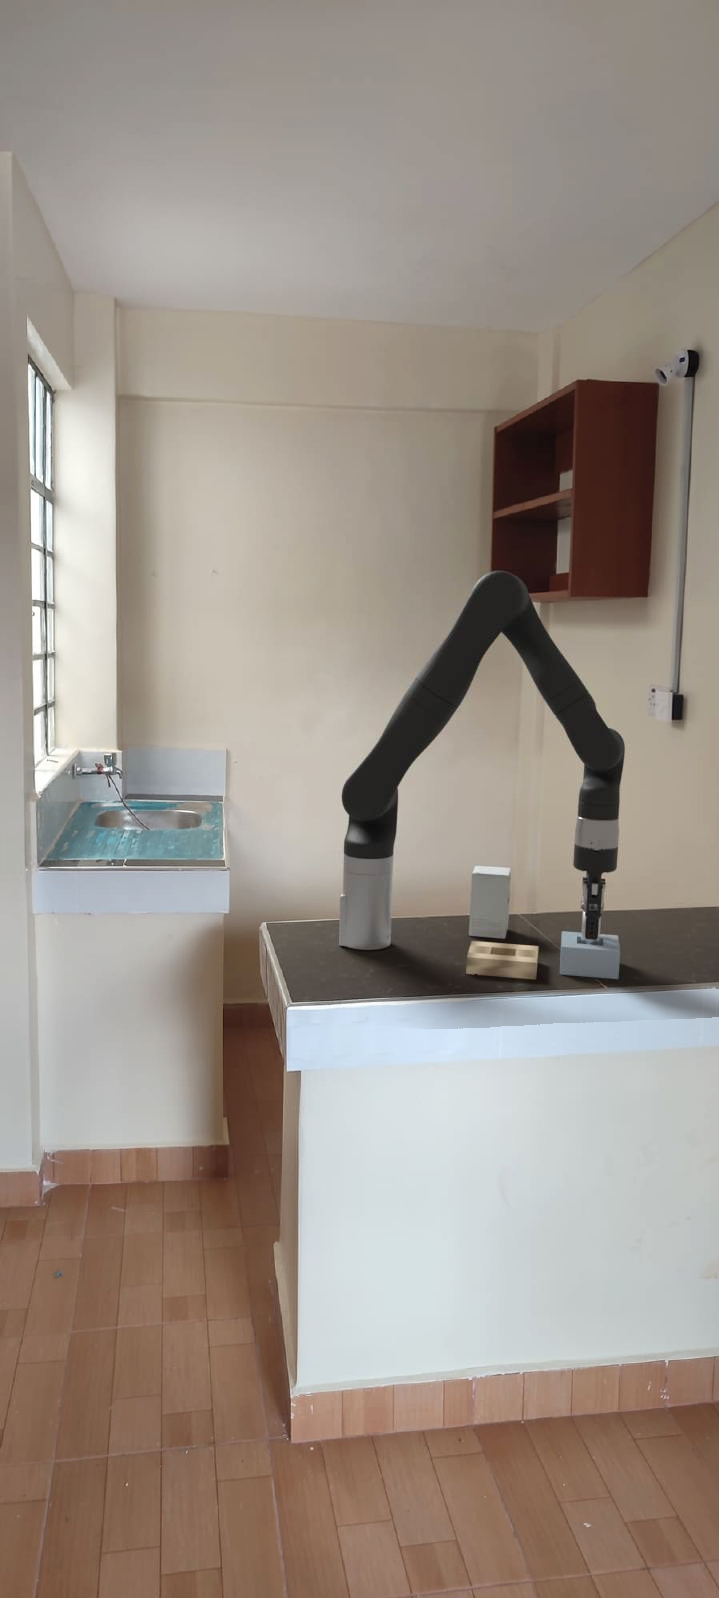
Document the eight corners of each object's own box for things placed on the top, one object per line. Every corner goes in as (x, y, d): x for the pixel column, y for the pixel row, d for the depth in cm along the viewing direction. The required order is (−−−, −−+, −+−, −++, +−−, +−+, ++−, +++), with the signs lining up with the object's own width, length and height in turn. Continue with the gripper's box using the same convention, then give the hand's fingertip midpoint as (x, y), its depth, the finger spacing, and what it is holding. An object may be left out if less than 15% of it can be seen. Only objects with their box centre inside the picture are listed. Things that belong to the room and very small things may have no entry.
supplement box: (506, 939, 219) (509, 875, 216) (467, 936, 220) (470, 872, 218) (508, 929, 226) (512, 867, 224) (471, 926, 227) (474, 864, 225)
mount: (466, 973, 197) (466, 957, 196) (471, 956, 207) (471, 941, 206) (535, 979, 195) (536, 962, 194) (537, 962, 205) (538, 946, 204)
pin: (577, 970, 200) (581, 904, 198) (576, 963, 204) (580, 899, 202) (600, 972, 200) (604, 906, 198) (599, 965, 204) (603, 900, 202)
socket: (559, 974, 198) (561, 946, 197) (560, 957, 208) (561, 931, 207) (618, 979, 196) (620, 951, 195) (616, 962, 206) (617, 935, 205)
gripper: (574, 833, 206) (569, 920, 209) (574, 849, 192) (569, 941, 195) (616, 836, 205) (611, 923, 207) (620, 852, 191) (613, 945, 193)
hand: (590, 932), depth 201 cm, fingers open, 8 cm apart
